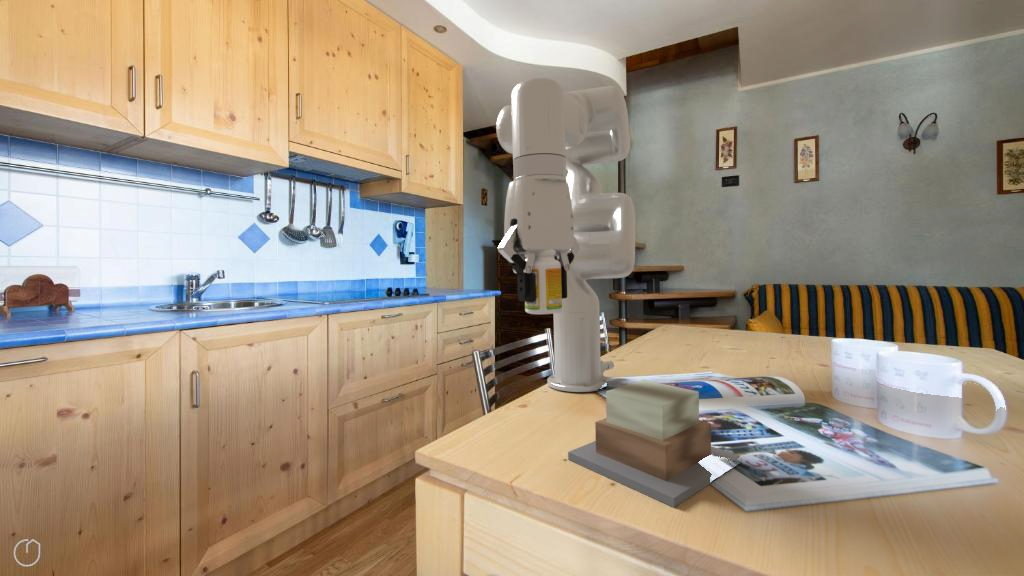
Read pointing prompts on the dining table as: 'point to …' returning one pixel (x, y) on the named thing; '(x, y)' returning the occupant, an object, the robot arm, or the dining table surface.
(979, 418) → the dining table surface
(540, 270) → the supplement bottle
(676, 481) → the baseplate
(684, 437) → the two-tone block stack
